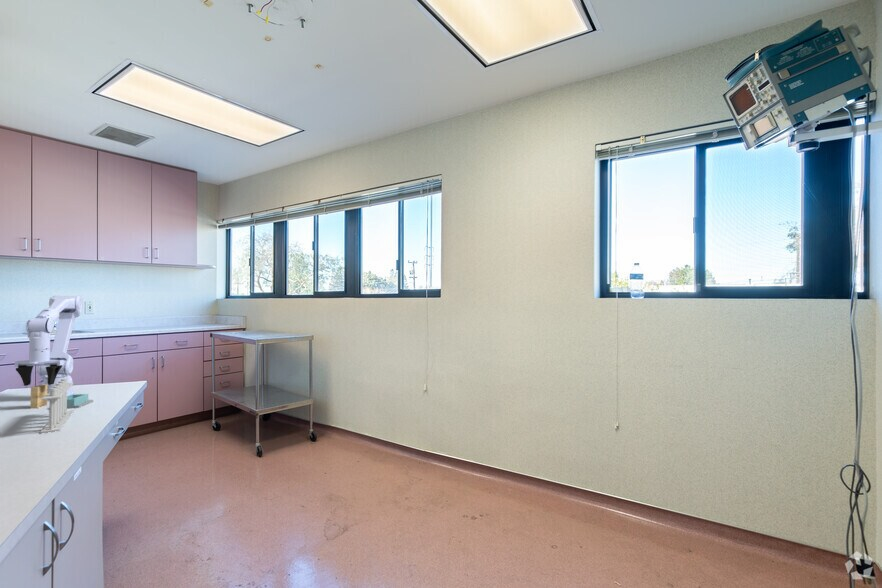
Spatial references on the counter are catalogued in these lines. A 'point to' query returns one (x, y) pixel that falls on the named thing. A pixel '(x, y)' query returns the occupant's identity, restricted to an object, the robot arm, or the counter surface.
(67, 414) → the test tube rack
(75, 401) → the stand
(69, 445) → the counter surface
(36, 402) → the plank
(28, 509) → the counter surface
